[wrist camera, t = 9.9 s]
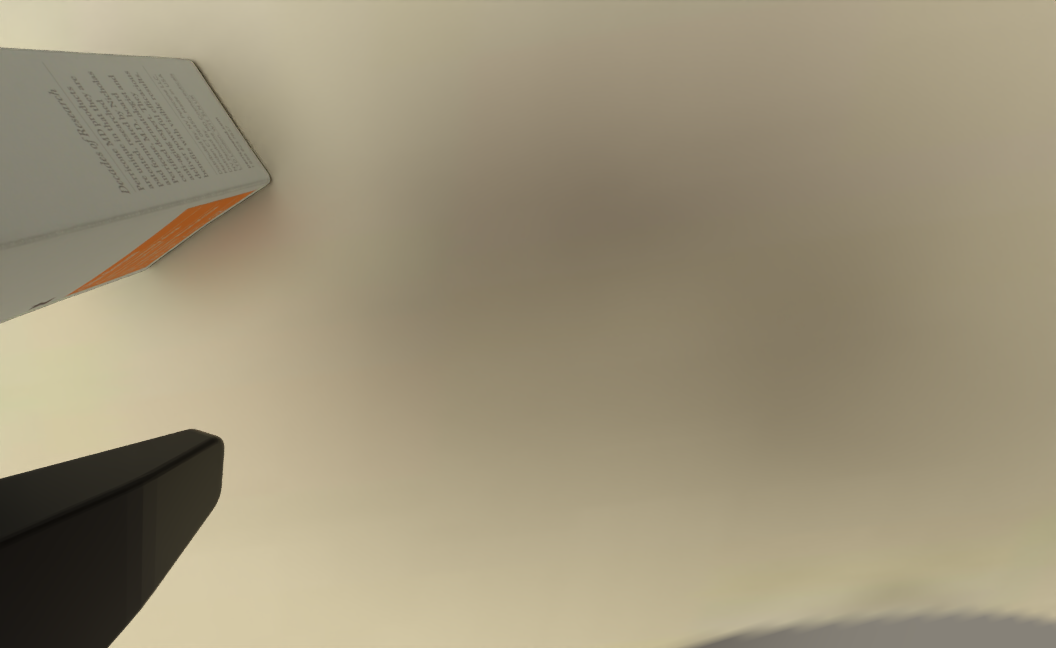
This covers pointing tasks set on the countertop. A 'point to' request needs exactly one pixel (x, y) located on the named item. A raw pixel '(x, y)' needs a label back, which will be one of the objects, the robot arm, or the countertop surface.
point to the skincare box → (107, 169)
